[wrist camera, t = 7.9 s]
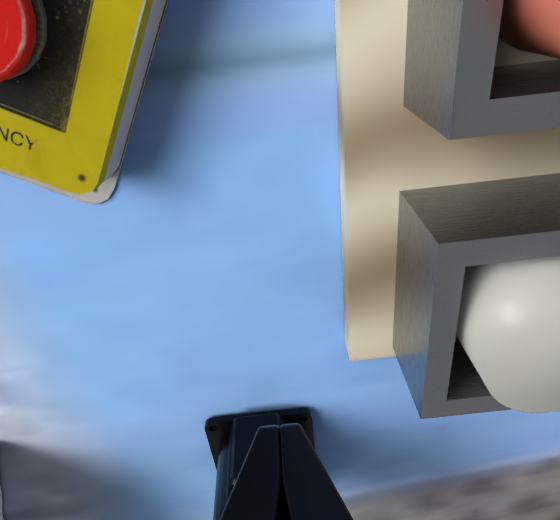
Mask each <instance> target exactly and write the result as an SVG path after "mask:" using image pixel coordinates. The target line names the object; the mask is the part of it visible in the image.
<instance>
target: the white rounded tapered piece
mask: <svg viewBox="0 0 560 520" xmlns="http://www.w3.org/2000/svg"><path fill="white" fill-rule="evenodd" d="M456 336H457V338H458V340H459V341H460V343H461V345H462V346H463V348H464V350H465V351H466V353H467V355H468V356H469V358H470V360H471V362H472V363H473V365H474V367H475V368H476V370H477V372H478V373H479V375H480V377H481V379H482V380H483V382H484V384H485V385H486V387H487V389H488V390H489V392H490V394H491V395H492V396H493V397H494V399H496V400H497V401H498V402H499V403H501V404H502V405H504V406H506V407H508V408H511V409H513V410H517V411H521V412H529V413H545V412H554V411H560V256H556V257H547V258H538V259H529V260H520V261H511V262H502V263H493V264H484V265H475V266H466V267H465V274H464V281H463V288H462V295H461V302H460V309H459V316H458V323H457V330H456Z"/></svg>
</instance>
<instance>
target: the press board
mask: <svg viewBox="0 0 560 520" xmlns="http://www.w3.org/2000/svg"><path fill="white" fill-rule="evenodd" d="M407 11H408V0H335V27H336V59H337V92H338V125H339V158H340V190H341V223H342V256H343V289H344V321H345V343H346V347H347V351H348V355H349V359H350V361H356V360H365V359H374V358H384V357H393V356H396V354H395V352H394V349H393V325H394V302H395V280H396V257H397V235H398V212H399V191H403V190H412V189H421V188H430V187H439V186H448V185H457V184H465V183H474V182H483V181H492V180H501V179H510V178H519V177H527V176H536V175H545V174H554V173H560V128H552V129H543V130H534V131H525V132H517V133H508V134H499V135H490V136H482V137H473V138H464V139H455V140H448V139H447V138H445V137H444V136H443V135H441V134H440V133H439V132H437V131H436V130H435V129H433V128H432V127H431V126H429V125H428V124H427V123H425V122H424V121H423V120H421V119H420V118H419V117H417V116H416V115H415V114H413V113H412V112H411V111H409V110H408V109H407V108H405V107H404V106H403V100H404V78H405V56H406V33H407ZM558 59H559V58H554V57H549V56H545V55H540V54H535V53H530V52H526V51H523V50H519V49H517V48H515V47H513V46H510V45H509V44H507V43H506V42H504V41H503V40H502V39H500V38H499V37H498V43H497V50H496V57H495V64H494V67H497V66H506V65H515V64H523V63H532V62H541V61H549V60H558Z"/></svg>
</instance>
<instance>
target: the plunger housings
mask: <svg viewBox="0 0 560 520" xmlns="http://www.w3.org/2000/svg"><path fill="white" fill-rule="evenodd" d="M503 1H504V0H408V11H407V33H406V56H405V78H404V100H403V106H404V107H405V108H407V109H408V110H409V111H411V112H412V113H413V114H415V115H416V116H417V117H419V118H420V119H421V120H423V121H424V122H425V123H427V124H428V125H429V126H431V127H432V128H433V129H435V130H436V131H437V132H439V133H440V134H441V135H443V136H444V137H445V138H447V139H448V140H455V139H464V138H473V137H482V136H490V135H499V134H508V133H517V132H525V131H534V130H543V129H552V128H560V59H558V60H549V61H541V62H532V63H523V64H515V65H506V66H497V67H494V64H495V57H496V50H497V43H498V36H499V29H500V22H501V15H502V8H503ZM556 256H560V173H554V174H545V175H536V176H527V177H519V178H510V179H501V180H492V181H483V182H474V183H465V184H457V185H448V186H439V187H430V188H421V189H412V190H403V191H399V212H398V235H397V257H396V280H395V302H394V325H393V349H394V352H395V354H396V357H397V359H398V362H399V364H400V367H401V370H402V372H403V375H404V377H405V380H406V382H407V385H408V387H409V390H410V393H411V395H412V398H413V400H414V403H415V405H416V408H417V411H418V413H419V416H420V418H421V419H425V418H435V417H444V416H453V415H463V414H472V413H481V412H491V411H500V410H509V409H511V408H508V407H506V406H504V405H502V404H501V403H499V402H498V401H497V400H496V399H494V397H493V396H492V395H491V394H490V392H489V390H488V389H487V387H486V385H485V384H484V382H483V380H482V379H481V377H480V375H479V373H478V372H477V370H476V368H475V367H474V365H473V363H472V362H471V360H470V358H469V356H468V355H467V353H466V351H465V350H464V348H463V346H462V345H461V343H460V341H459V340H458V338H457V336H456V330H457V323H458V316H459V309H460V302H461V295H462V288H463V281H464V274H465V267H466V266H475V265H484V264H493V263H502V262H511V261H520V260H529V259H538V258H547V257H556Z"/></svg>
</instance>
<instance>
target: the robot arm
mask: <svg viewBox="0 0 560 520" xmlns="http://www.w3.org/2000/svg"><path fill="white" fill-rule="evenodd" d="M205 432H206V435H207V438H208V442H209V445H210V449H211V452H212V455H213V459H214V462H215V466H216V469H217V478H216V491H215V503H214V516H213V520H353V518H352V516H351V514H350V513H349V511H348V509H347V507H346V505H345V504H344V502H343V500H342V498H341V496H340V495H339V493H338V491H337V489H336V487H335V486H334V484H333V482H332V480H331V479H330V477H329V475H328V473H327V471H326V470H325V468H324V466H323V464H322V462H321V461H320V459H319V457H318V455H317V453H316V452H315V447H314V436H313V426H312V416H311V411H310V410H309V409H307V408H297V409H287V410H278V411H269V412H259V413H250V414H241V415H232V416H222V417H213V418H209V419H207V420H206V422H205Z"/></svg>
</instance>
